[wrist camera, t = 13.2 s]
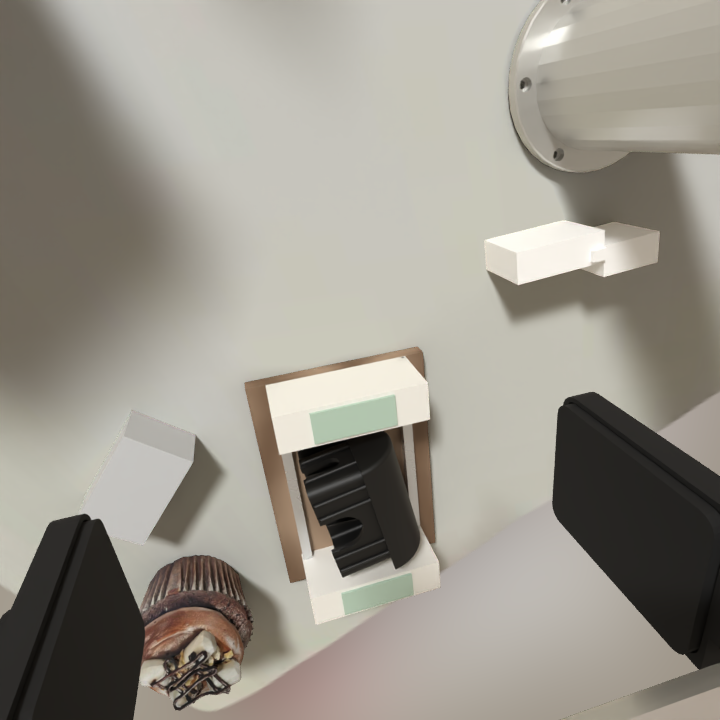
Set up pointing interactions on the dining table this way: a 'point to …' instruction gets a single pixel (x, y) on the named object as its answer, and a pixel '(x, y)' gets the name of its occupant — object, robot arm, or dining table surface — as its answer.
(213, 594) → the cupcake
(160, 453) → the block
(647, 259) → the white stepped block
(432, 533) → the rail board
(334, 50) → the dining table surface
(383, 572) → the mounted modules
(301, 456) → the end cap
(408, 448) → the rail
